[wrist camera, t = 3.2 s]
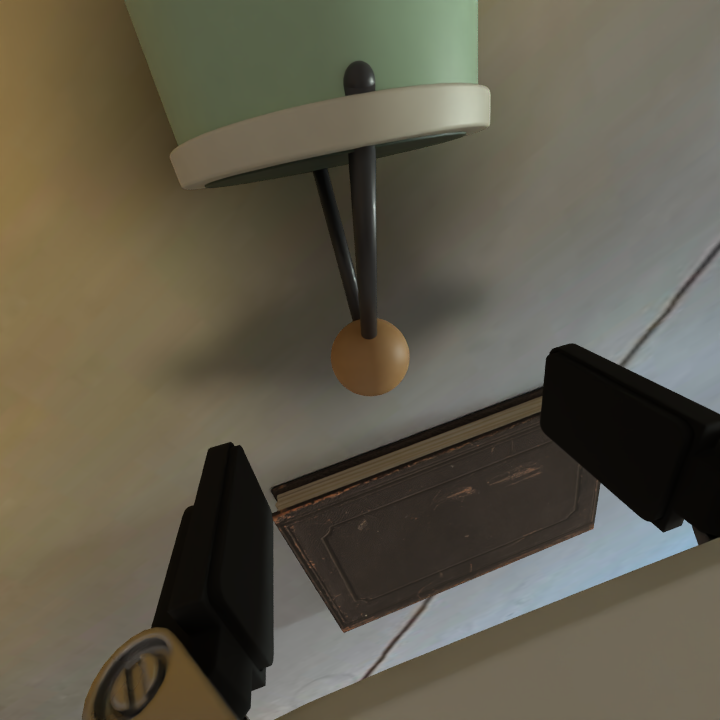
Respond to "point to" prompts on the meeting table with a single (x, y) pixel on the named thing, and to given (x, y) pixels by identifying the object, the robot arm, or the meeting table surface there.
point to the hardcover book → (434, 510)
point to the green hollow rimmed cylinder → (317, 115)
